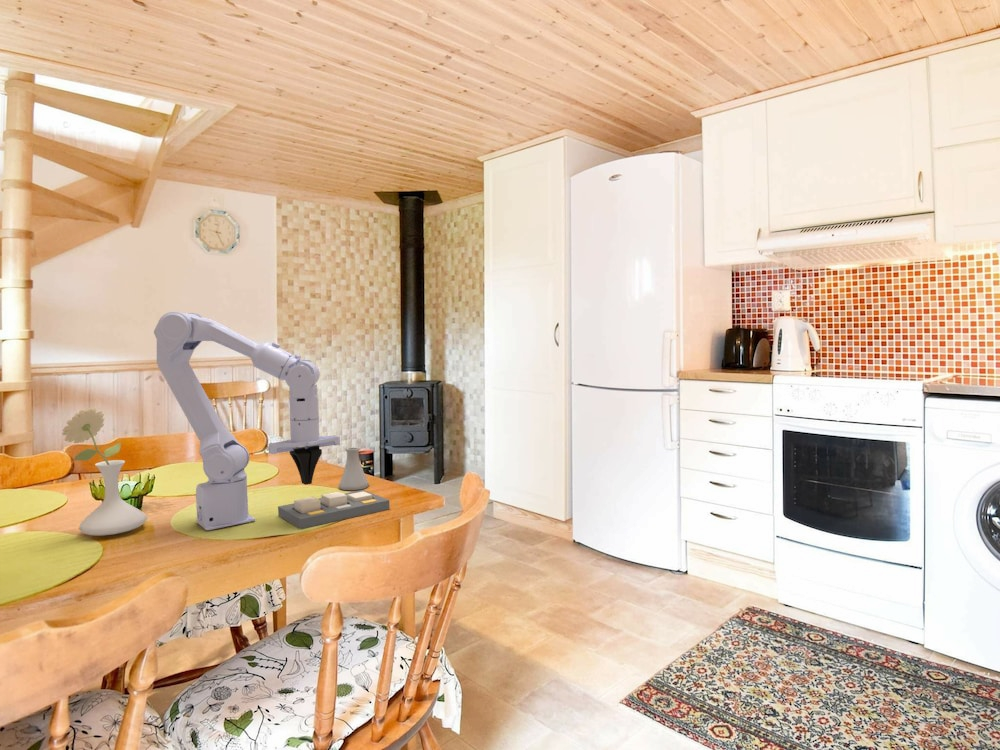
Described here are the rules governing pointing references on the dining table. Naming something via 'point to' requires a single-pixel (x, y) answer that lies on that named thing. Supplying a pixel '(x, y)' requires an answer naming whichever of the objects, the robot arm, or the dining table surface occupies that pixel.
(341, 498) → the button middle
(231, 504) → the robot arm
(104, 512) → the flower in vase
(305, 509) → the button near
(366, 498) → the button far
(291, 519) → the button board
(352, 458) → the flask
